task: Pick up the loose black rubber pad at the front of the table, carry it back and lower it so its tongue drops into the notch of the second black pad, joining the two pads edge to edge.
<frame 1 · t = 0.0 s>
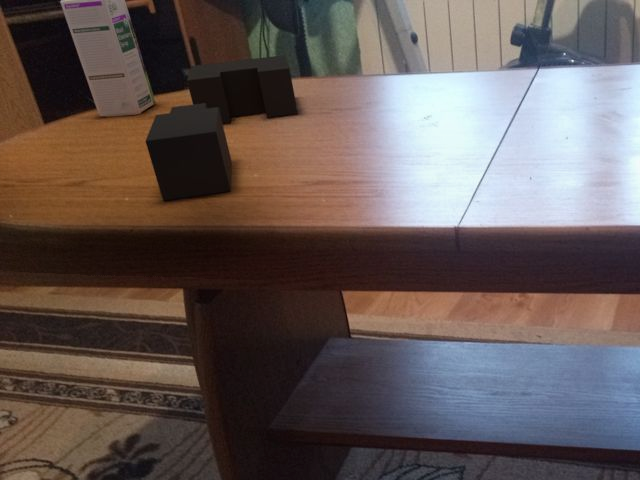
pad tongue: (199, 179, 71), on the table
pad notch: (248, 111, 94), on the table
syrup box: (128, 112, 100), on the table
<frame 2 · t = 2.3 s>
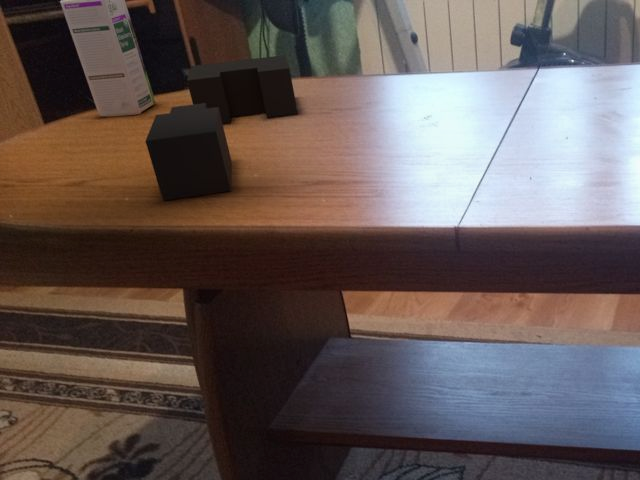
nothing on the table moved.
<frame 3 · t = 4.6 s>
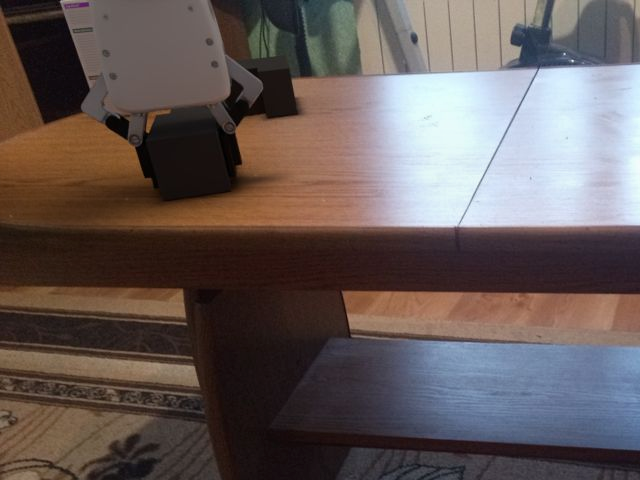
hand: (196, 177, 69), 1 cm above the table, tool pointing down, fingers closed on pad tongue, 6 cm apart
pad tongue: (199, 180, 71), on the table, touching gripper
everything else where it was.
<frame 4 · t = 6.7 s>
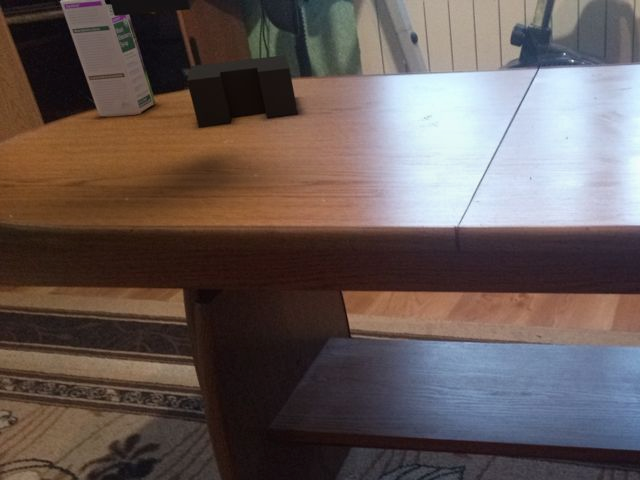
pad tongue: (158, 6, 65), point 15 cm above the table, touching gripper
everything else where it was.
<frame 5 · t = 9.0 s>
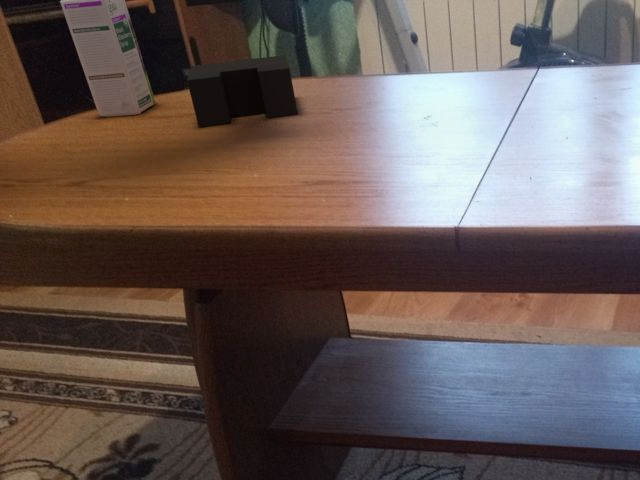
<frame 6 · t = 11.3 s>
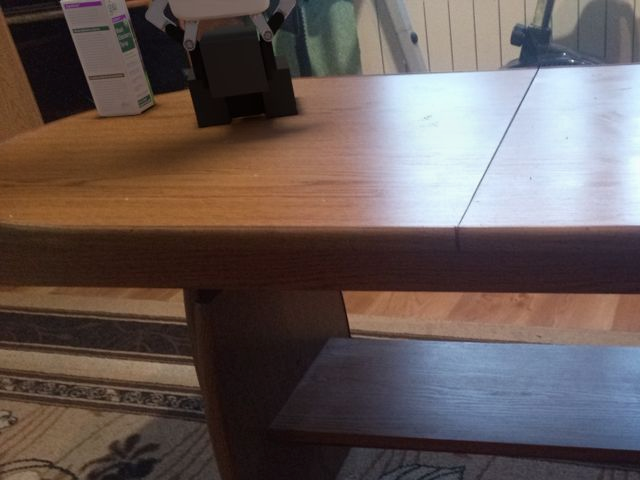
hand: (238, 81, 81), 6 cm above the table, tool pointing down, fingers closed on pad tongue, 6 cm apart
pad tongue: (240, 85, 83), point 5 cm above the table, touching gripper
everything else where it was.
when the fingers open (1 cm above the table, at t = 13.3 s): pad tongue stays where it is, on the table.
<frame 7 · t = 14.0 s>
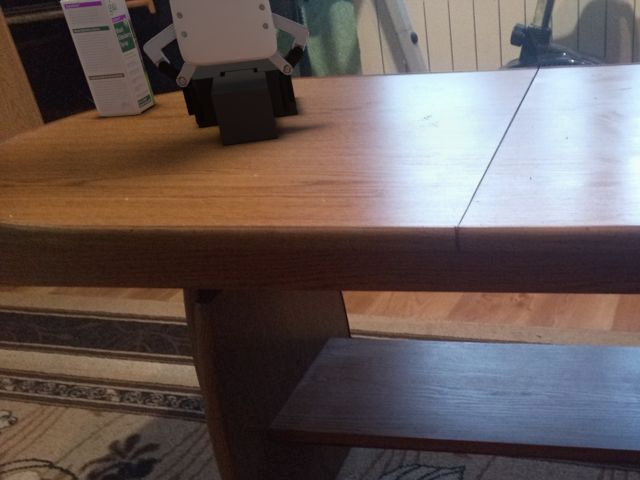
hand: (244, 115, 83), 2 cm above the table, tool pointing down, fingers open, 9 cm apart
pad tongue: (250, 131, 86), on the table
everything else where it was.
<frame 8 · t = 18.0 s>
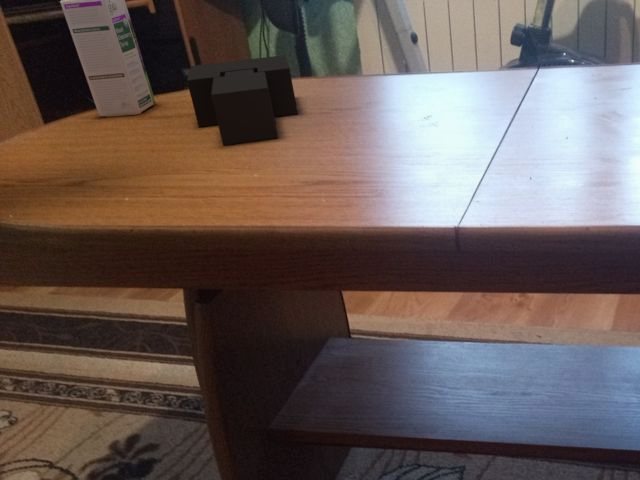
nothing on the table moved.
at the end: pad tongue 0.2 cm from the target spot on the table beside the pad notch, on the table; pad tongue tilted 0°; the gripper is holding nothing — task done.
